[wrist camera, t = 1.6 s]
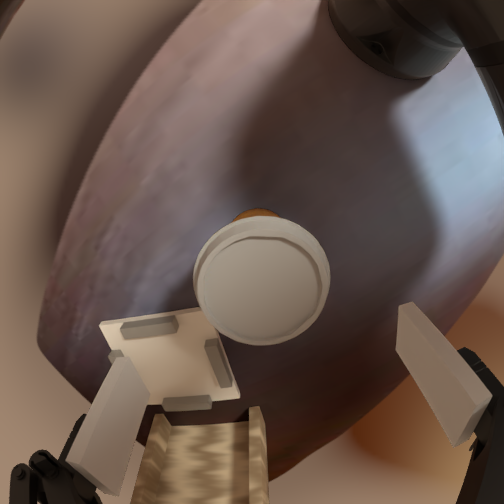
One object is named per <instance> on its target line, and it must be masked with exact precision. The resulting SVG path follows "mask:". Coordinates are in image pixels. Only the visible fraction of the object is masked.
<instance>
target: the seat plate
mask: <svg viewBox="0 0 504 504" xmlns="http://www.w3.org/2000/svg"><path fill="white" fill-rule="evenodd" d="M99 327H100V329H101V331H102V333H103V335H104V336H105V338H106V340H107V342H108V344H109V346H110V348H111V350H112V351H111V352H110V354H109V356H108V358H109V360H110V362H111V364H112V365H113V363H114V361H115V359H116V357H128V356H129V358H130V360H131V361H132V363H133V365H134V367H135V369H136V370H137V372H138V374H139V376H140V377H141V379H142V381H143V383H144V384H145V386H146V388H147V389H148V391H149V393H150V397H149V400H148V403H147V405H155V404H162V407H163V408H164V410H165V411H189V410H204V409H211V408H212V401H220V400H229V399H238V398H240V391H239V389H238V386H237V383H236V381H235V378H234V375H233V373H232V370H231V367H230V364H229V361H228V359H227V356H226V353H225V350H224V347H223V344H222V342H221V339H220V336H219V333H218V330H217V329H216V328H215V327H214V326H213V325H212V324H211V323H210V322H209V321H208V319H207V318H206V316H205V315H204V313H203V312H202V309H201V308H200V307H195V308H189V309H183V310H177V311H171V312H164V313H158V314H152V315H145V316H138V317H131V318H124V319H117V320H109V321H102V322H101V323H100V325H99Z"/></svg>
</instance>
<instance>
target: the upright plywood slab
mask: <svg viewBox="0 0 504 504" xmlns="http://www.w3.org/2000/svg"><path fill="white" fill-rule="evenodd" d="M130 504H269V488H268V467H267V448H266V429H265V422H264V419H263V416H262V413H261V410H260V407H259V406H256V407H249V421H244V422H235V423H225V424H212V425H194V426H171V425H170V423H169V422H168V420H167V419H166V417H165V416H164V414H155V416H154V419H153V423H152V426H151V429H150V433H149V436H148V440H147V443H146V447H145V451H144V454H143V457H142V461H141V465H140V469H139V472H138V476H137V480H136V483H135V487H134V491H133V495H132V499H131V503H130Z"/></svg>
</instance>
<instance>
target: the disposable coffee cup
mask: <svg viewBox="0 0 504 504" xmlns="http://www.w3.org/2000/svg"><path fill="white" fill-rule="evenodd" d="M330 277H331V276H330V267H329V262H328V260H327V257H326V254H325V252H324V250H323V248H322V247H321V245H320V244H319V242H318V241H317V240H316V239H315V237H314V236H313V235H312V234H310V233H309V232H308V231H307V230H305V229H304V228H302V227H301V226H300V225H298V224H296V223H293V222H291V221H289V220H286V219H282V218H281V217H279V216H278V215H277V214H275V213H274V212H272V211H270V210H267V209H262V208H255V209H250V210H247V211H244V212H242V213H241V214H240V215H238V216H237V217H236V218H235V219H234V220H233V221H232V223H230V224H228V225H227V226H225V227H223V228H222V229H220V230H219V231H217V232H216V233H215V234H214V235H213V236H212V237H211V238H210V239H209V240H208V241H207V242H206V244H205V245H204V247H203V248H202V250H201V251H200V253H199V255H198V258H197V261H196V263H195V266H194V273H193V288H194V292H195V296H196V299H197V301H198V303H199V306H200V308H201V309H202V312H203V313H204V315H205V316H206V318H207V319H208V321H209V322H210V323H211V324H212V325H213V326H214V327H215V328H216V329H217V330H218V331H219V332H220V333H221V334H223V335H225V336H227V337H229V338H231V339H233V340H235V341H237V342H241V343H246V344H250V345H272V344H278V343H281V342H284V341H287V340H289V339H292V338H294V337H296V336H298V335H299V334H301V333H302V332H304V331H305V330H306V329H308V328H309V327H310V326H311V325H312V324H313V322H314V321H315V320H316V319H317V317H318V316H319V314H320V313H321V311H322V309H323V307H324V305H325V301H326V298H327V295H328V292H329V288H330Z"/></svg>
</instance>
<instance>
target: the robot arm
mask: <svg viewBox="0 0 504 504" xmlns="http://www.w3.org/2000/svg"><path fill="white" fill-rule="evenodd" d="M328 8H329V14H330V17H331V20H332V23H333V25H334V27H335V29H336V31H337V32H338V34H339V36H340V37H341V38H342V40H343V41H344V42H345V44H346V45H347V46H348V47H349V48H350V49H351V50H352V51H353V52H354V53H355V54H356V55H357V56H358V57H359V58H361V59H362V60H363V61H365V62H366V63H367V64H369V65H370V66H372V67H373V68H375V69H377V70H379V71H381V72H383V73H385V74H387V75H390V76H393V77H396V78H400V79H407V80H416V79H422V78H425V77H428V76H431V75H434V74H437V73H438V72H440V71H442V70H443V69H444V68H445V67H446V66H447V65H448V64H449V62H450V61H451V60H452V59H453V58H454V57H455V56H456V54H457V53H458V52H459V51H460V50H461V48H462V47H465V49H466V51H467V52H468V54H469V56H470V58H471V60H472V62H473V64H474V66H475V68H476V70H477V72H478V74H479V76H480V78H481V80H482V83H483V85H484V87H485V89H486V91H487V94H488V96H489V98H490V101H491V103H492V105H493V108H494V110H495V113H496V115H497V118H498V121H499V123H500V126H501V129H502V132H503V135H504V0H328ZM396 351H397V353H398V355H399V356H400V358H401V359H402V361H403V362H404V364H405V366H406V367H407V369H408V370H409V372H410V374H411V375H412V376H413V378H414V380H415V382H416V383H417V385H418V387H419V388H420V390H421V391H422V393H423V395H424V397H425V398H426V400H427V402H428V403H429V405H430V407H431V409H432V410H433V412H434V414H435V415H436V417H437V419H438V421H439V423H440V424H441V426H442V428H443V430H444V431H445V433H446V435H447V437H448V439H449V441H450V443H451V444H452V446H453V448H454V447H456V446H458V445H460V444H462V443H463V442H465V441H467V440H469V438H470V437H471V435H472V433H473V432H474V433H475V434H476V436H477V438H476V439H475V441H474V442H473V444H472V445H471V447H470V449H469V451H471V450H472V449H473V452H472V455H471V459H470V463H469V466H468V469H467V473H466V476H465V479H464V482H463V485H462V488H461V491H460V494H459V496H458V499H457V502H456V504H504V387H503V385H502V384H501V383H500V382H499V380H498V379H497V378H496V377H495V376H494V374H493V373H492V372H491V371H490V370H489V368H487V367H486V365H485V364H484V363H483V362H481V359H480V358H479V357H478V356H477V355H476V354H475V352H473V351H471V350H469V349H467V348H466V347H464V348H462V349H459V350H457V351H456V350H455V348H454V347H453V346H452V345H451V344H450V343H449V341H448V340H447V339H446V338H445V337H444V336H443V335H442V333H441V332H440V331H439V330H438V329H437V328H436V327H435V326H434V324H433V323H432V322H431V321H430V320H429V319H428V318H427V317H426V316H425V315H424V313H423V312H422V311H421V310H420V309H419V308H418V307H417V306H416V305H415V304H414V303H413V302H409V303H406V304H403V305H399V309H398V327H397V341H396ZM149 397H150V393H149V391H148V389H147V388H146V386H145V384H144V383H143V381H142V379H141V377H140V376H139V374H138V372H137V370H136V369H135V367H134V365H133V363H132V361H131V360H130V358H129V356H128V357H116V359H115V361H114V363H113V365H112V367H111V368H110V370H109V372H108V374H107V376H106V378H105V380H104V382H103V384H102V385H101V387H100V389H99V391H98V393H97V395H96V397H95V399H94V401H93V403H92V405H91V407H90V409H89V411H88V413H87V414H83V415H82V416H81V417H80V418H79V419H78V420H77V421H76V423H75V425H74V428H73V431H72V432H71V433H70V438H68V440H67V442H66V444H65V446H64V448H63V451H62V452H61V455H60V457H59V459H58V460H57V459H56V458H55V457H53V456H52V455H51V454H50V453H49V452H48V451H47V450H39V451H37V452H35V453H34V454H33V455H32V456H31V458H30V460H29V466H27V465H26V464H24V463H20V464H18V465H16V466H15V467H14V468H13V470H12V473H11V480H10V497H9V504H37V501H38V502H39V503H40V504H102V502H101V500H100V497H99V496H98V494H97V493H96V492H95V491H96V488H98V489H99V490H101V491H102V492H103V493H105V494H109V495H114V496H119V493H120V490H121V486H122V483H123V479H124V476H125V472H126V469H127V466H128V462H129V459H130V456H131V452H132V449H133V446H134V443H135V440H136V436H137V433H138V430H139V427H140V424H141V421H142V418H143V415H144V412H145V409H146V406H147V403H148V400H149ZM473 447H474V448H473ZM32 469H33V470H32Z"/></svg>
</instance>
